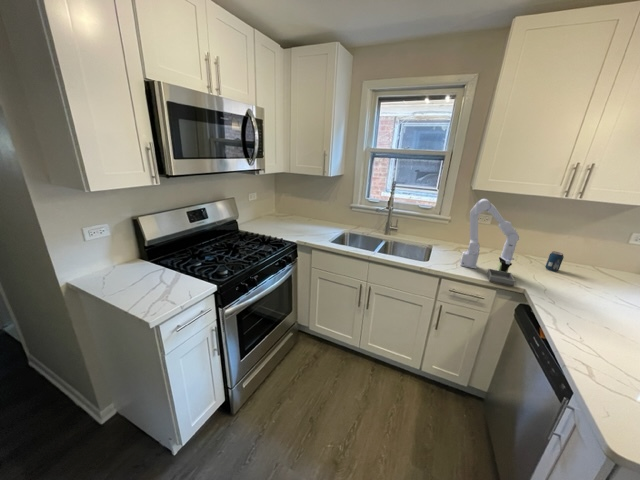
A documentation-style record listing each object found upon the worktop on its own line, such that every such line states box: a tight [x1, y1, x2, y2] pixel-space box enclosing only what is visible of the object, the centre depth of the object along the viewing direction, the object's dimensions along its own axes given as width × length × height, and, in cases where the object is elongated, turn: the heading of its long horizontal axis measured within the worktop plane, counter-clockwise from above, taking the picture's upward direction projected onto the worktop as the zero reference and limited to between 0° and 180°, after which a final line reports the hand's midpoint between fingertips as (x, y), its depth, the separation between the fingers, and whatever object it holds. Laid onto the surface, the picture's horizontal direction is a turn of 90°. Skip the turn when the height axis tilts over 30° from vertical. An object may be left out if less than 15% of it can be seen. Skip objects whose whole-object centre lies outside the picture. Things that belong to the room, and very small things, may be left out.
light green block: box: [496, 261, 510, 273], centre depth 166 cm, size 5×5×6 cm
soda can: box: [544, 251, 564, 273], centre depth 174 cm, size 7×7×12 cm
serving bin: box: [486, 268, 516, 288], centre depth 157 cm, size 12×12×4 cm
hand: (502, 270), depth 167 cm, fingers closed on light green block, 5 cm apart
